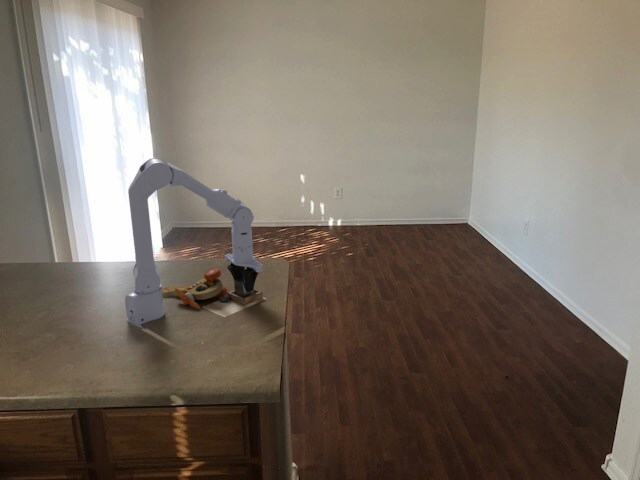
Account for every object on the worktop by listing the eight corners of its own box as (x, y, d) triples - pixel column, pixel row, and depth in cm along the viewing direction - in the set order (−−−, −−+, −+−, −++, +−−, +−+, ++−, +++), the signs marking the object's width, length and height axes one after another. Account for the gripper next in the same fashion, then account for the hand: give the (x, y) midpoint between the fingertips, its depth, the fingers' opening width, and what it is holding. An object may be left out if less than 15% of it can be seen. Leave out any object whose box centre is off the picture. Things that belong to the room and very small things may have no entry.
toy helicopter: (233, 289, 156) (214, 315, 144) (175, 294, 162) (152, 319, 151) (225, 266, 152) (205, 291, 141) (166, 272, 159) (142, 296, 147)
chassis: (224, 320, 140) (223, 310, 139) (202, 310, 146) (201, 300, 145) (267, 301, 151) (266, 292, 150) (244, 292, 157) (244, 283, 156)
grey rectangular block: (244, 302, 148) (243, 283, 146) (235, 298, 151) (234, 280, 149) (254, 298, 151) (253, 279, 149) (245, 294, 154) (244, 276, 152)
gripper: (270, 247, 144) (271, 291, 148) (236, 237, 153) (239, 278, 157) (251, 253, 139) (253, 298, 143) (217, 242, 148) (221, 285, 152)
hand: (245, 288), depth 150 cm, fingers closed on grey rectangular block, 4 cm apart
